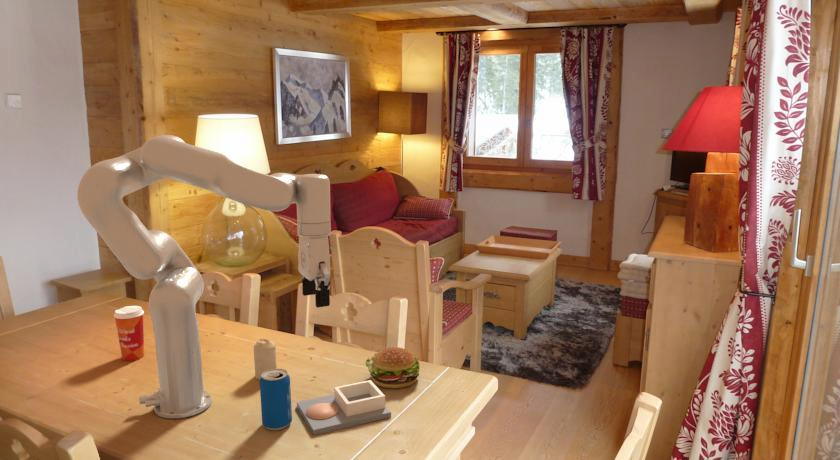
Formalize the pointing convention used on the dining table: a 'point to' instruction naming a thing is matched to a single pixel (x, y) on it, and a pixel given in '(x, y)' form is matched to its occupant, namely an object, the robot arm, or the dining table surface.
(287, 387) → the beverage can
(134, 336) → the paper cup
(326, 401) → the board
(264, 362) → the candle
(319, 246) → the robot arm
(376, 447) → the dining table surface
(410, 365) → the food
